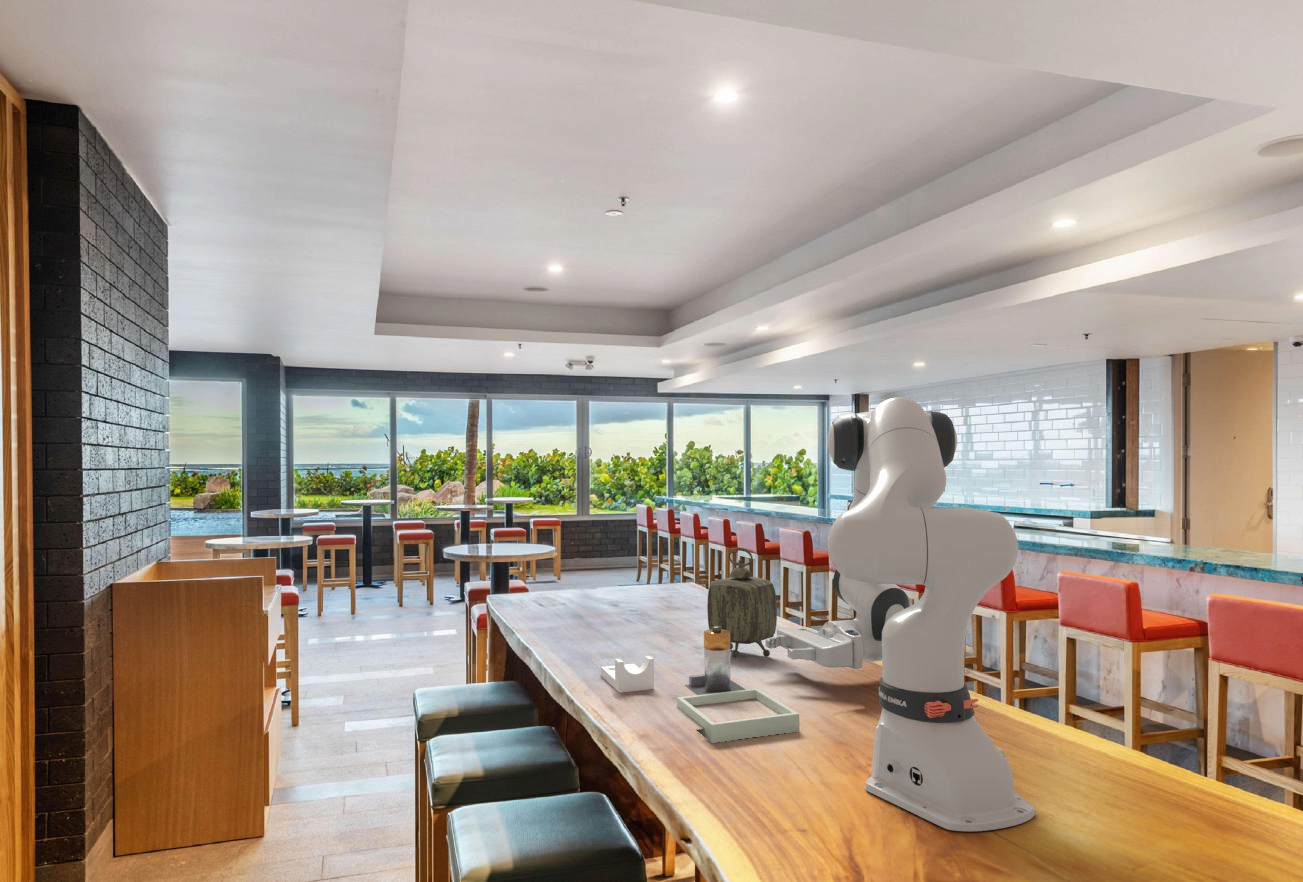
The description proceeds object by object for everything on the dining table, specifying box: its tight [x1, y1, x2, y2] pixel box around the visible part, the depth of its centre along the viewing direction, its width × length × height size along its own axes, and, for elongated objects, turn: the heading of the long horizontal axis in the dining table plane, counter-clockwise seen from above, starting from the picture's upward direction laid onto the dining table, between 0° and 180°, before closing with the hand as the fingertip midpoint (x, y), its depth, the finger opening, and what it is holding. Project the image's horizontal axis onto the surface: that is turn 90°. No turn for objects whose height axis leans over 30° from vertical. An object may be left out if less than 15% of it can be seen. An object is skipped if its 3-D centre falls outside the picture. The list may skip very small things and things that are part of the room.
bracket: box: [600, 655, 655, 694], centre depth 163 cm, size 13×7×8 cm, turn 19°
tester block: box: [684, 673, 747, 695], centre depth 157 cm, size 10×10×3 cm
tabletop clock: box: [706, 547, 778, 658], centre depth 190 cm, size 14×9×25 cm, turn 47°
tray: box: [676, 687, 801, 744], centre depth 142 cm, size 16×16×3 cm
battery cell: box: [703, 626, 732, 693], centre depth 157 cm, size 5×5×12 cm
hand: (777, 648), depth 162 cm, fingers open, 8 cm apart
